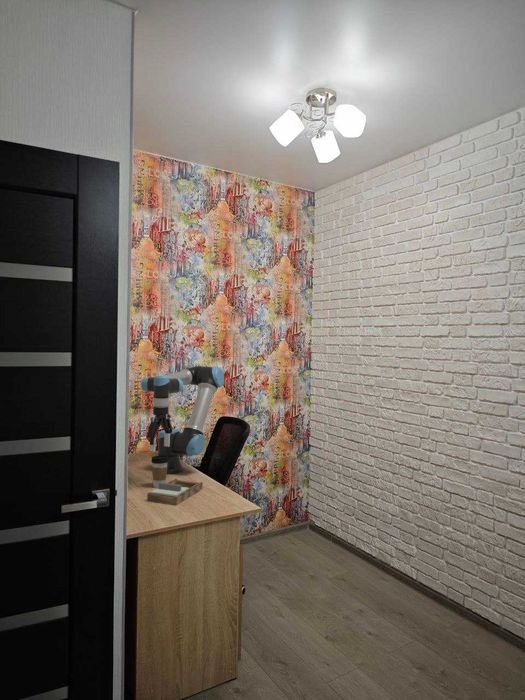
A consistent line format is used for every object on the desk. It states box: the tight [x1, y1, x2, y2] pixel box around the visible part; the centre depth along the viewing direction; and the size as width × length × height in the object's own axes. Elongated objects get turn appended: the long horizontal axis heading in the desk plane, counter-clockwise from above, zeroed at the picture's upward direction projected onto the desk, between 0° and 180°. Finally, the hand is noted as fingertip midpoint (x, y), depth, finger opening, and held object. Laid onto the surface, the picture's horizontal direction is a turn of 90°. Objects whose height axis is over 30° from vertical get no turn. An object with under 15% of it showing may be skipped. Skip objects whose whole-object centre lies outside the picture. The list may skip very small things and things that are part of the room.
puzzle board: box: [146, 478, 204, 506], centre depth 229 cm, size 26×15×4 cm, turn 161°
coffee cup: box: [150, 455, 168, 489], centre depth 242 cm, size 8×8×15 cm
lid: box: [150, 482, 189, 497], centre depth 223 cm, size 12×13×3 cm
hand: (159, 448), depth 242 cm, fingers open, 13 cm apart
